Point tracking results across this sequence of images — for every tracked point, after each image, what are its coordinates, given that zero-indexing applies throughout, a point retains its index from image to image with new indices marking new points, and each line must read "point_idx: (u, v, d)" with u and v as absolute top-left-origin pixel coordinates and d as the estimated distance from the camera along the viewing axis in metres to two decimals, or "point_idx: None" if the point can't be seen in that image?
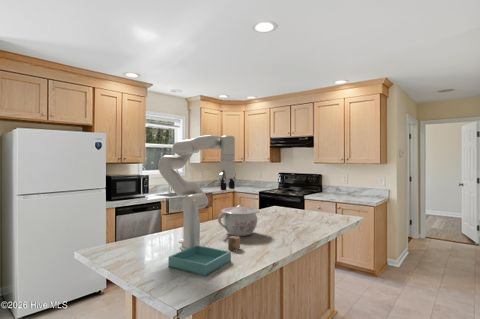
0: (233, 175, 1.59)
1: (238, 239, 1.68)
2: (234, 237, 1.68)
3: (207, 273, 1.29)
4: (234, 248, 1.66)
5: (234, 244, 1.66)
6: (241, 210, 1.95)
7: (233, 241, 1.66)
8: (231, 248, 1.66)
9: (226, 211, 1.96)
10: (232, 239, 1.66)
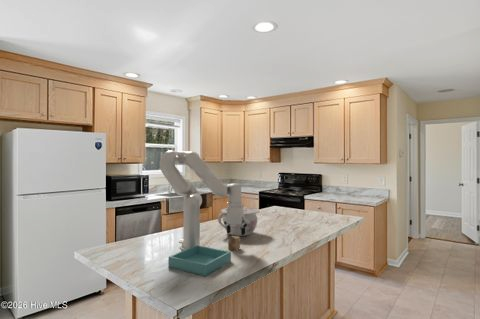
0: None
1: (238, 239, 1.68)
2: (234, 237, 1.68)
3: (207, 273, 1.29)
4: (234, 248, 1.66)
5: (234, 244, 1.66)
6: None
7: (233, 241, 1.66)
8: (231, 248, 1.66)
9: (226, 211, 1.96)
10: (232, 239, 1.66)
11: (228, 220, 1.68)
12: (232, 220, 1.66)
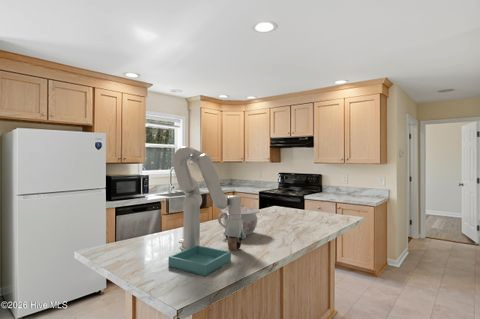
0: None
1: None
2: (234, 237, 1.68)
3: (207, 273, 1.29)
4: (234, 248, 1.66)
5: (234, 244, 1.66)
6: (241, 210, 1.95)
7: (233, 241, 1.66)
8: (231, 248, 1.67)
9: (226, 211, 1.96)
10: (232, 239, 1.66)
11: (227, 232, 1.68)
12: (231, 232, 1.66)
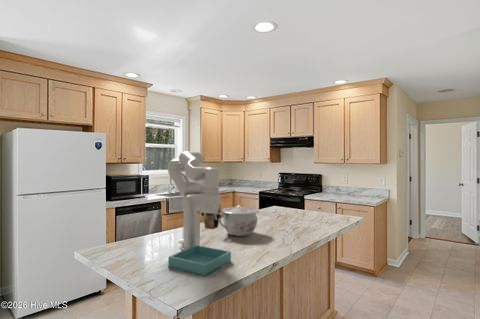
0: None
1: None
2: (211, 214, 1.49)
3: (207, 273, 1.29)
4: (211, 226, 1.47)
5: (211, 222, 1.47)
6: (241, 210, 1.95)
7: (210, 218, 1.47)
8: (208, 226, 1.48)
9: (226, 211, 1.96)
10: (209, 216, 1.47)
11: (203, 209, 1.49)
12: (207, 209, 1.47)
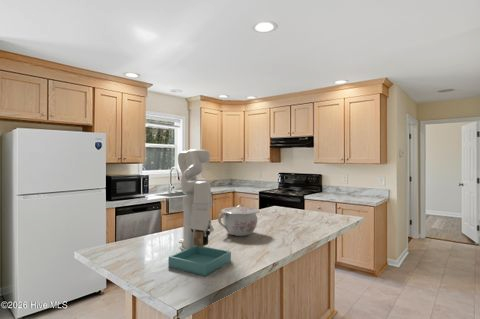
0: None
1: None
2: (201, 231, 1.42)
3: (207, 273, 1.29)
4: (200, 243, 1.40)
5: (200, 239, 1.40)
6: (241, 210, 1.95)
7: (199, 235, 1.40)
8: (197, 243, 1.41)
9: (226, 211, 1.96)
10: (198, 233, 1.41)
11: (192, 225, 1.42)
12: (196, 225, 1.41)
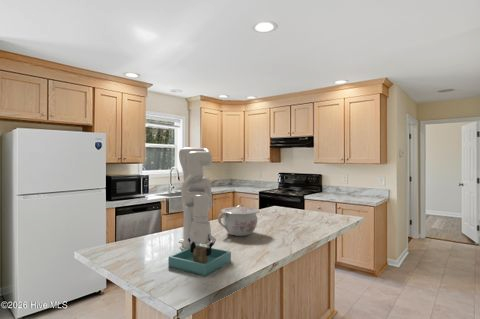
0: None
1: (205, 251, 1.43)
2: (200, 248, 1.43)
3: (207, 273, 1.29)
4: (200, 262, 1.40)
5: (200, 257, 1.40)
6: (241, 210, 1.95)
7: (199, 253, 1.41)
8: None
9: (226, 211, 1.96)
10: (198, 251, 1.41)
11: (192, 237, 1.42)
12: (196, 238, 1.41)
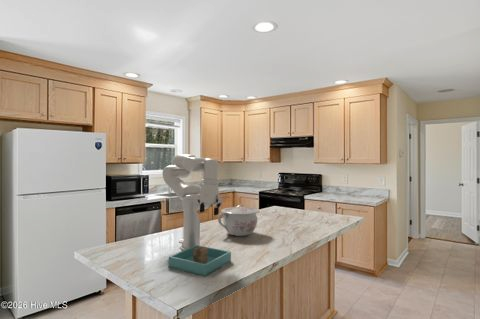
0: None
1: (205, 251, 1.43)
2: (200, 248, 1.43)
3: (207, 273, 1.29)
4: (200, 262, 1.40)
5: (200, 257, 1.40)
6: (241, 210, 1.95)
7: (199, 253, 1.41)
8: None
9: (226, 211, 1.96)
10: (198, 251, 1.41)
11: (201, 198, 1.54)
12: (205, 198, 1.53)
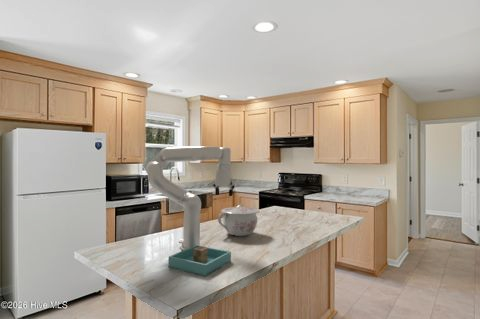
0: None
1: (205, 251, 1.43)
2: (200, 248, 1.43)
3: (207, 273, 1.29)
4: (200, 262, 1.40)
5: (200, 257, 1.40)
6: (241, 210, 1.95)
7: (199, 253, 1.41)
8: None
9: (226, 211, 1.96)
10: (198, 251, 1.41)
11: (217, 182, 1.76)
12: (220, 182, 1.75)
